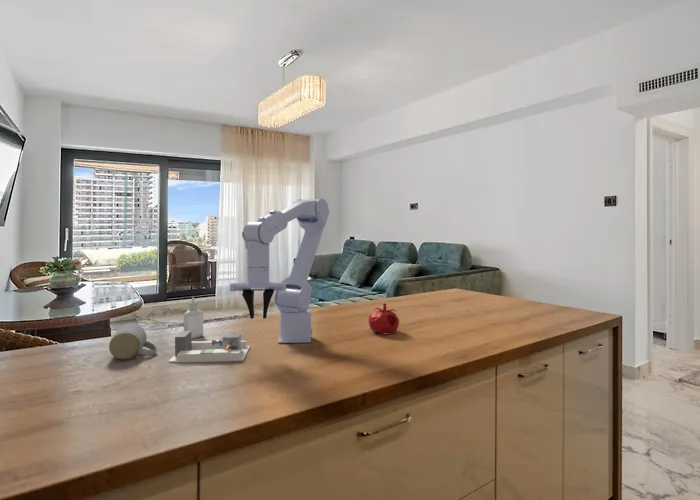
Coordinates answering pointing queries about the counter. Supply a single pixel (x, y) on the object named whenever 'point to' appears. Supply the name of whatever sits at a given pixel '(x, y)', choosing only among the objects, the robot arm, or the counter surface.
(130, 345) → the ceramic mug
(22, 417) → the counter surface
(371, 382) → the counter surface
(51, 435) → the counter surface
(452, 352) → the counter surface
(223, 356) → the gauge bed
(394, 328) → the pomegranate
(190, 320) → the eye dropper bottle
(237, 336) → the plunger
